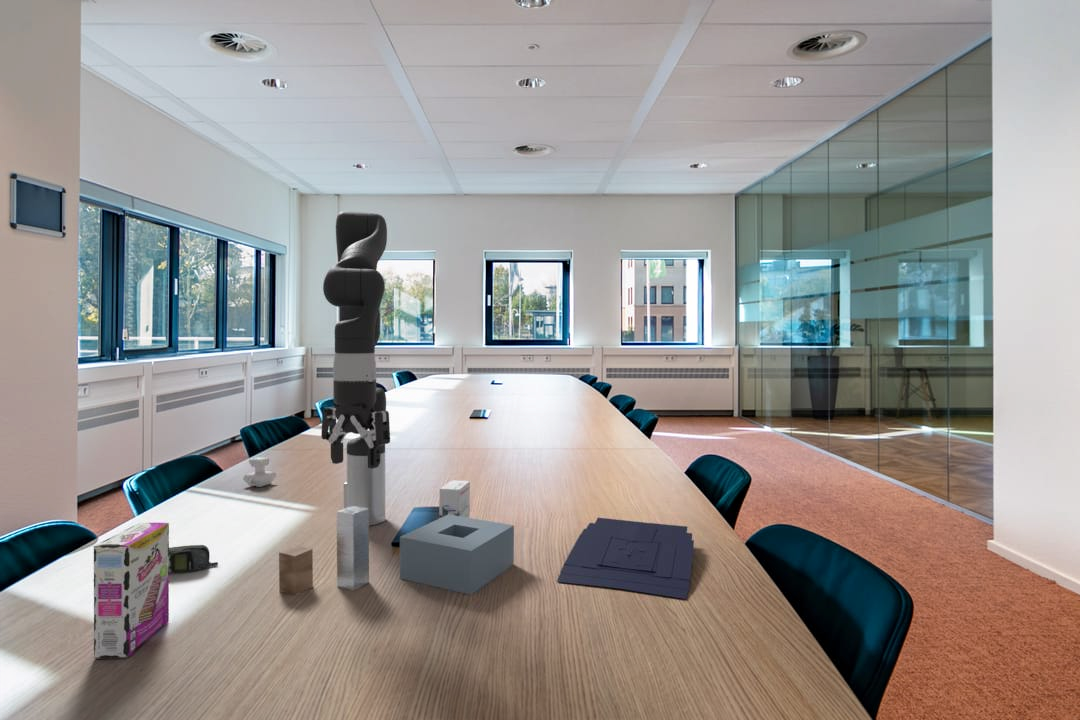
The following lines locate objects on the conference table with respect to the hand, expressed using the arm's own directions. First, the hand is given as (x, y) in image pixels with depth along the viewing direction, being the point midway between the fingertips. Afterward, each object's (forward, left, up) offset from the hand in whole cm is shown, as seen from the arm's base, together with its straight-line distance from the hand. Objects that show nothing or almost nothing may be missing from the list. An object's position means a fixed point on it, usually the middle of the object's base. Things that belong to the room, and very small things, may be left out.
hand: (355, 465), depth 109 cm
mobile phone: (-35, -12, -23) cm, 44 cm away
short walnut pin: (-8, -6, -22) cm, 25 cm away
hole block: (+14, +14, -22) cm, 29 cm away
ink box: (+1, +32, -23) cm, 39 cm away
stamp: (-77, +42, -23) cm, 91 cm away
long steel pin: (0, 0, -22) cm, 22 cm away
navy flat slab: (+43, +34, -23) cm, 59 cm away
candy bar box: (-15, -30, -23) cm, 41 cm away
